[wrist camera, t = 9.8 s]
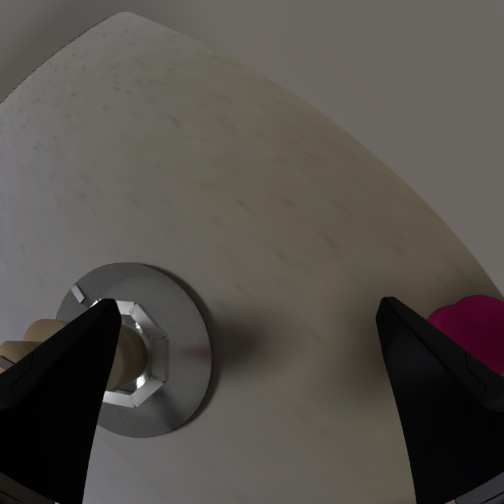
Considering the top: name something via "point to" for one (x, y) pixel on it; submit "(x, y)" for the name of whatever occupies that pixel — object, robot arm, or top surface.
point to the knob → (10, 352)
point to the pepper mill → (475, 327)
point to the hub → (150, 347)
